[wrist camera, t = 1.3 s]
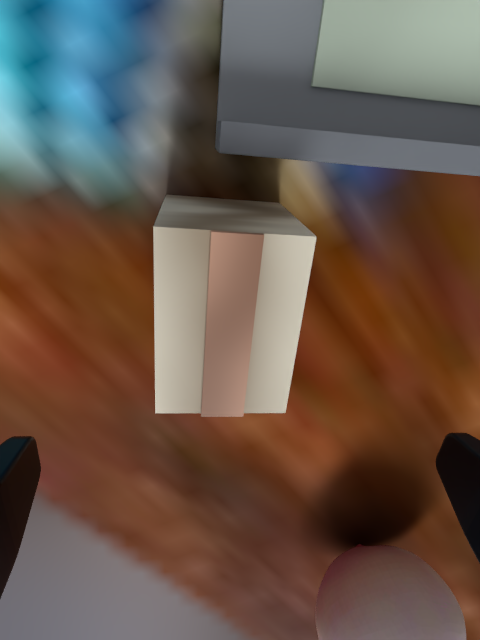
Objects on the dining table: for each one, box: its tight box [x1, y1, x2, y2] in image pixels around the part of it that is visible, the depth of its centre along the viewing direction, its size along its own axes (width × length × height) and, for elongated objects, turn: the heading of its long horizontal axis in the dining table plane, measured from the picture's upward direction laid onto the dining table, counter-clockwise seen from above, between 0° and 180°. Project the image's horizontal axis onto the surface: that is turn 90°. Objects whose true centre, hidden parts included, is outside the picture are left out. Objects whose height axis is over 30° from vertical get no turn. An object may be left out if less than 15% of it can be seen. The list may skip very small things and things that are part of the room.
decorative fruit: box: [316, 544, 466, 640], centre depth 25 cm, size 9×8×10 cm
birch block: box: [153, 195, 316, 417], centre depth 16 cm, size 5×7×6 cm
